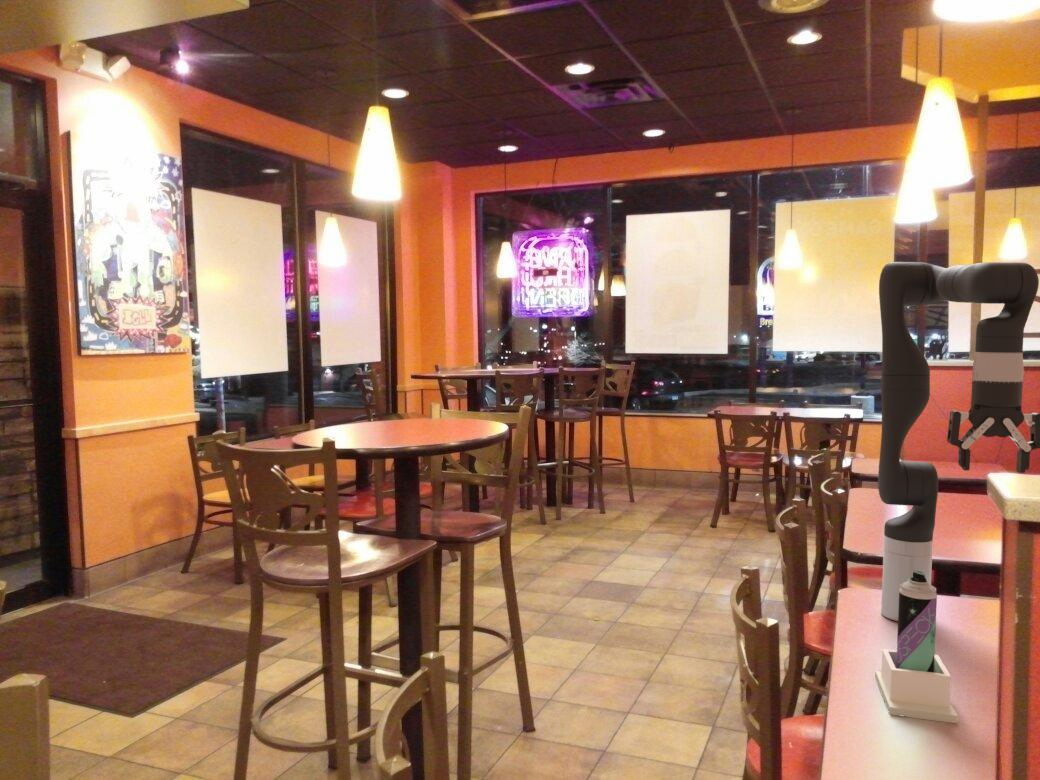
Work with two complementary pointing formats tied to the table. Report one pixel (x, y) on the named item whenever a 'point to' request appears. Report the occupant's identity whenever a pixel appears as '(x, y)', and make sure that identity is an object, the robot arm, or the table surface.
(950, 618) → the table surface
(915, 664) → the spray can
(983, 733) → the table surface
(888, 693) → the can holder
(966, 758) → the table surface
